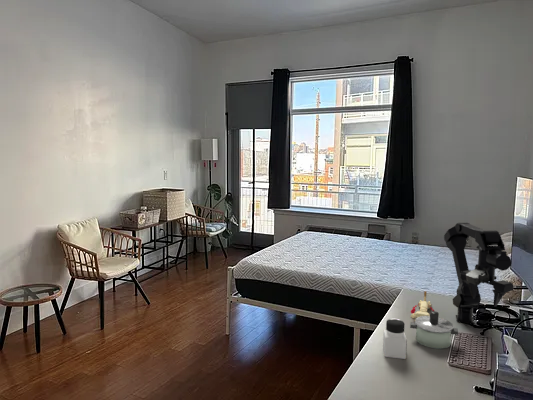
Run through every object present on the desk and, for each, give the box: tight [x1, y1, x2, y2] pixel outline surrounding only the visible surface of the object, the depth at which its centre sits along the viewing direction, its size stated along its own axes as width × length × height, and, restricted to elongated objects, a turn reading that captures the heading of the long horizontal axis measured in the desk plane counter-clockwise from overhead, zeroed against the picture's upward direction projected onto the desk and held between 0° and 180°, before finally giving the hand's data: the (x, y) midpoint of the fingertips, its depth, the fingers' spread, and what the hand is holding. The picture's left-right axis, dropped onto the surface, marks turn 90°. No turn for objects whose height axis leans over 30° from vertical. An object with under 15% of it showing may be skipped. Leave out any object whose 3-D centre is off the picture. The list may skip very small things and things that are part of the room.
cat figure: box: [410, 291, 435, 322], centre depth 171 cm, size 10×9×25 cm
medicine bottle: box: [382, 317, 408, 360], centre depth 139 cm, size 7×7×12 cm
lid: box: [414, 310, 454, 333], centre depth 148 cm, size 13×13×5 cm
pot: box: [409, 321, 459, 350], centre depth 148 cm, size 12×16×6 cm
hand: (484, 302), depth 153 cm, fingers open, 9 cm apart
